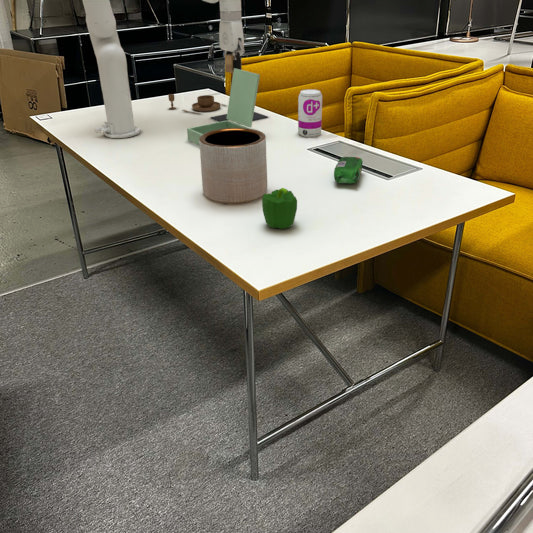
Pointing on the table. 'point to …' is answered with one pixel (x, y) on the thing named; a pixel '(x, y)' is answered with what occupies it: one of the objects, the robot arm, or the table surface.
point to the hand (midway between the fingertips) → (233, 69)
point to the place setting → (200, 103)
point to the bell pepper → (279, 208)
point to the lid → (243, 97)
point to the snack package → (348, 170)
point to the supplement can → (309, 113)
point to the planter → (233, 164)
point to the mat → (223, 118)
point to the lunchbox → (209, 129)
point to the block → (229, 63)
